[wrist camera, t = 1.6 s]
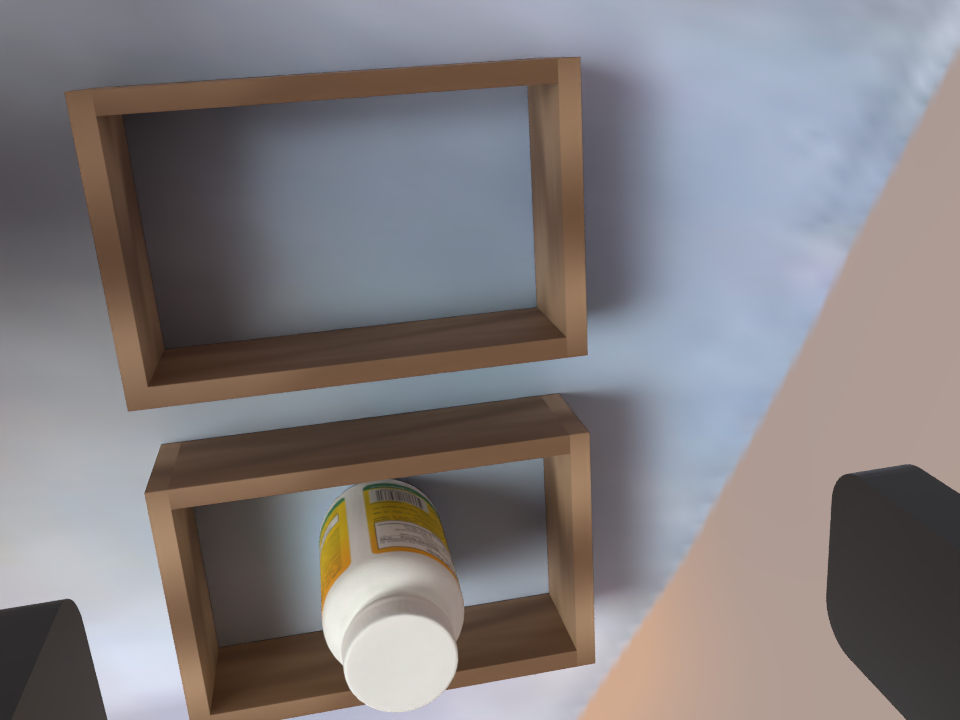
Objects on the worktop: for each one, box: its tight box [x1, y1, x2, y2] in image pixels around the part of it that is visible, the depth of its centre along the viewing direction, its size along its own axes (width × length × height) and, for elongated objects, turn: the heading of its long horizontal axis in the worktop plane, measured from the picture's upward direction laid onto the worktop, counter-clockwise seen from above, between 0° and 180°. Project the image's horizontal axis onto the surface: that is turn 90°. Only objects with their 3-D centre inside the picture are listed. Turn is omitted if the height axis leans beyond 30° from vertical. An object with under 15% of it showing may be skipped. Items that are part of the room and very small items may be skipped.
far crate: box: [144, 393, 595, 720], centre depth 38 cm, size 11×17×4 cm, turn 93°
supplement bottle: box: [319, 479, 464, 712], centre depth 36 cm, size 5×5×10 cm
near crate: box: [64, 57, 588, 411], centre depth 34 cm, size 11×17×4 cm, turn 93°
